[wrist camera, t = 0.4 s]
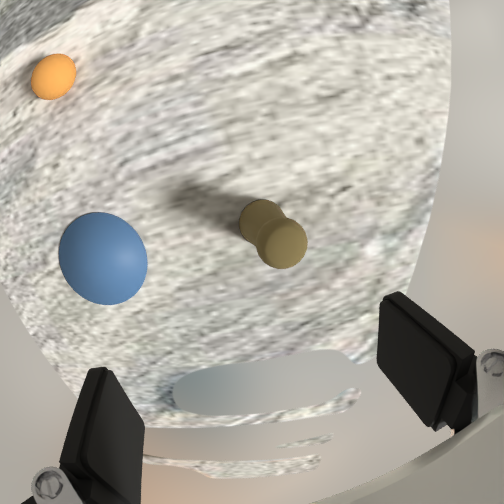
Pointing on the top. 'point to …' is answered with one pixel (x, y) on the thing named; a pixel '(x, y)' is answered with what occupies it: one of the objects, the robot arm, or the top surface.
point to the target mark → (103, 258)
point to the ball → (53, 76)
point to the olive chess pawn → (273, 234)
